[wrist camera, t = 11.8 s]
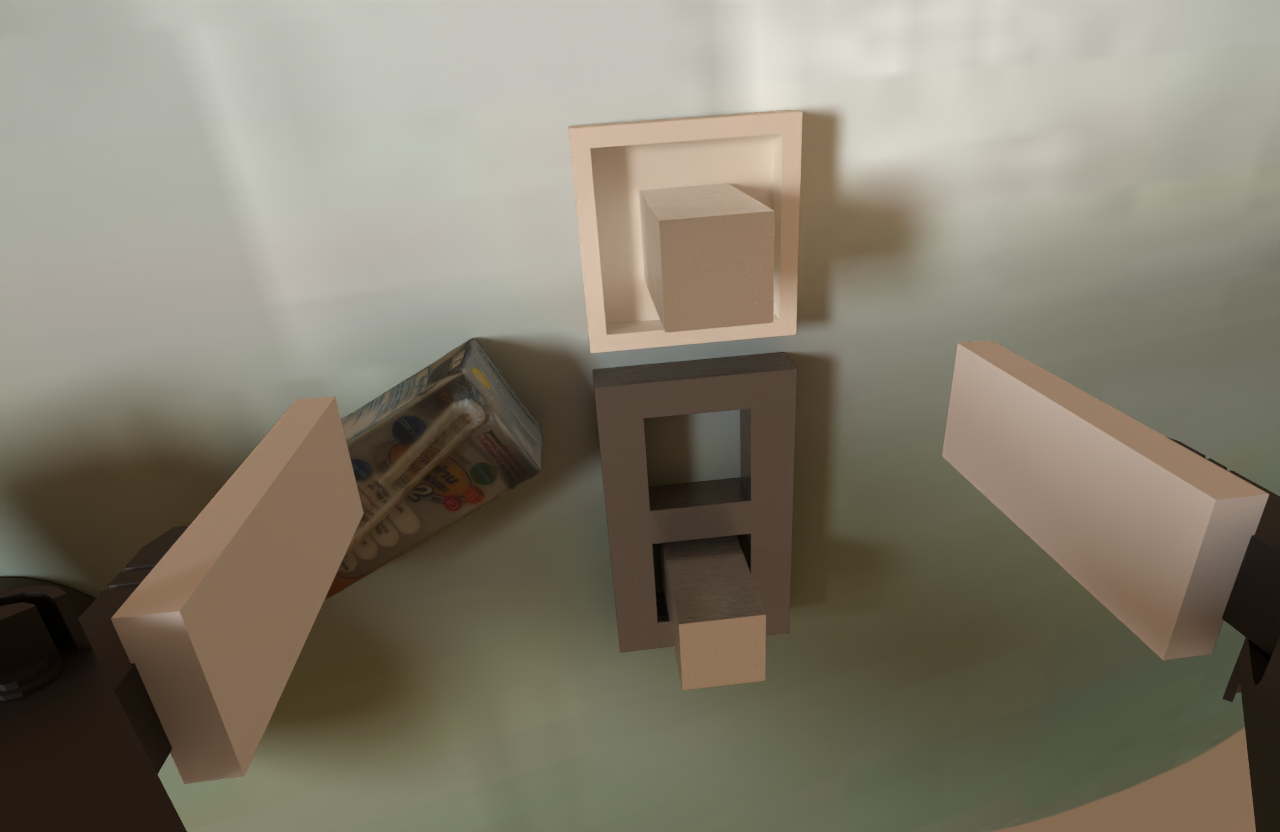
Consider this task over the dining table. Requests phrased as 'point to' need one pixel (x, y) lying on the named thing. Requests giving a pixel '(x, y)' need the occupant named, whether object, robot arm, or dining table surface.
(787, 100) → the dining table surface
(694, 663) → the beige rectangular block
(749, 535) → the rack
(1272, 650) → the robot arm
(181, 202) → the dining table surface
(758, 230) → the tan rectangular block
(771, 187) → the tray
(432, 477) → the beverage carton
